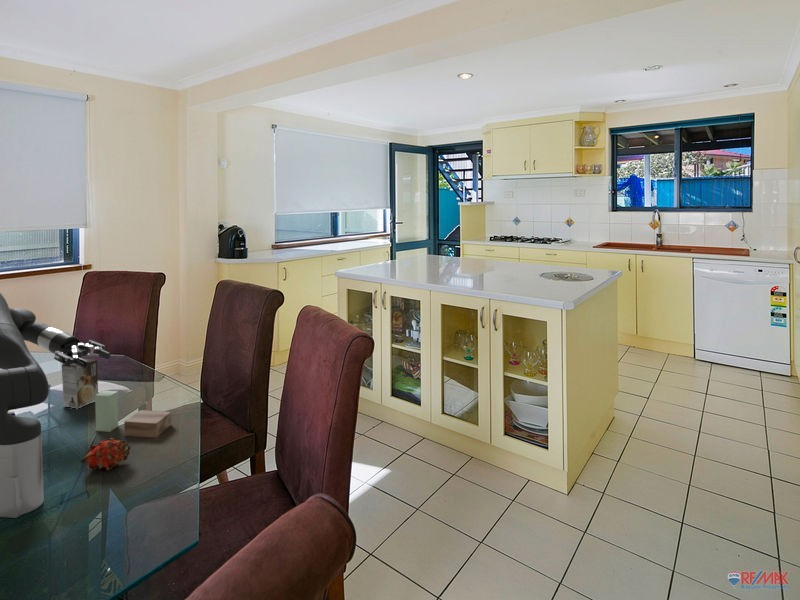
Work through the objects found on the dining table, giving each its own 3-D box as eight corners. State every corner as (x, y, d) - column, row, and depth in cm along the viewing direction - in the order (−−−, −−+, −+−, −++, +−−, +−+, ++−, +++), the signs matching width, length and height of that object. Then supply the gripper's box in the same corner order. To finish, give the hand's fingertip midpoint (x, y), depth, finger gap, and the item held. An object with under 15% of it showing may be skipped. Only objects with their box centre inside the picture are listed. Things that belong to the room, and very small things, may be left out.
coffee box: (84, 399, 178) (83, 357, 176) (98, 401, 177) (98, 359, 175) (62, 407, 169) (61, 363, 167) (77, 410, 168) (76, 366, 166)
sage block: (109, 431, 153) (109, 396, 151) (96, 430, 153) (95, 395, 151) (118, 426, 157) (117, 391, 156) (104, 425, 157) (104, 390, 156)
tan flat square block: (156, 438, 151) (156, 423, 151) (124, 436, 151) (124, 421, 150) (170, 425, 161) (170, 411, 160) (141, 424, 161) (141, 409, 160)
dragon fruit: (135, 466, 136) (86, 485, 128) (125, 442, 139) (77, 459, 132) (135, 451, 131) (85, 470, 123) (125, 426, 134) (75, 443, 126)
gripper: (39, 338, 150) (81, 357, 148) (78, 326, 164) (117, 344, 161) (36, 358, 152) (78, 378, 150) (75, 345, 166) (114, 363, 163)
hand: (98, 360), depth 156 cm, fingers open, 8 cm apart
